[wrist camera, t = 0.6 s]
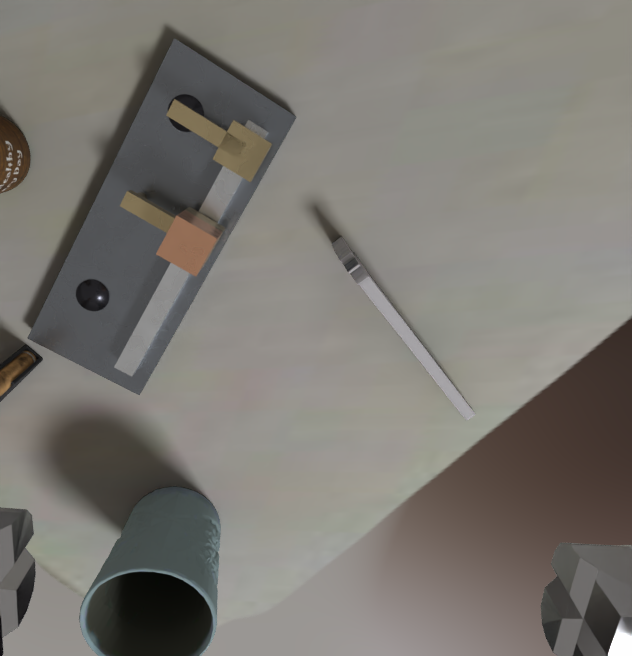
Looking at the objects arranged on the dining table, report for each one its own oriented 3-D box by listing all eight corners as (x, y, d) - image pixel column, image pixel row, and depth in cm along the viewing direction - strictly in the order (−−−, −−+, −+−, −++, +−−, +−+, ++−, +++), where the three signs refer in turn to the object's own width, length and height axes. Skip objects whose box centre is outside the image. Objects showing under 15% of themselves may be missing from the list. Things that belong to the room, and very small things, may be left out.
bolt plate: (178, 41, 43) (163, 29, 38) (296, 117, 44) (296, 115, 40) (35, 332, 49) (7, 353, 44) (143, 388, 51) (128, 413, 46)
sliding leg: (144, 176, 43) (120, 182, 37) (227, 225, 45) (217, 238, 39) (126, 211, 44) (100, 223, 38) (208, 258, 46) (195, 276, 40)
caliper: (330, 242, 48) (335, 258, 42) (341, 234, 48) (347, 248, 42) (465, 418, 53) (486, 453, 47) (475, 411, 53) (498, 446, 47)
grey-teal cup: (101, 513, 55) (50, 613, 43) (186, 458, 53) (157, 545, 42) (170, 584, 58) (139, 695, 46) (253, 534, 56) (242, 635, 45)
